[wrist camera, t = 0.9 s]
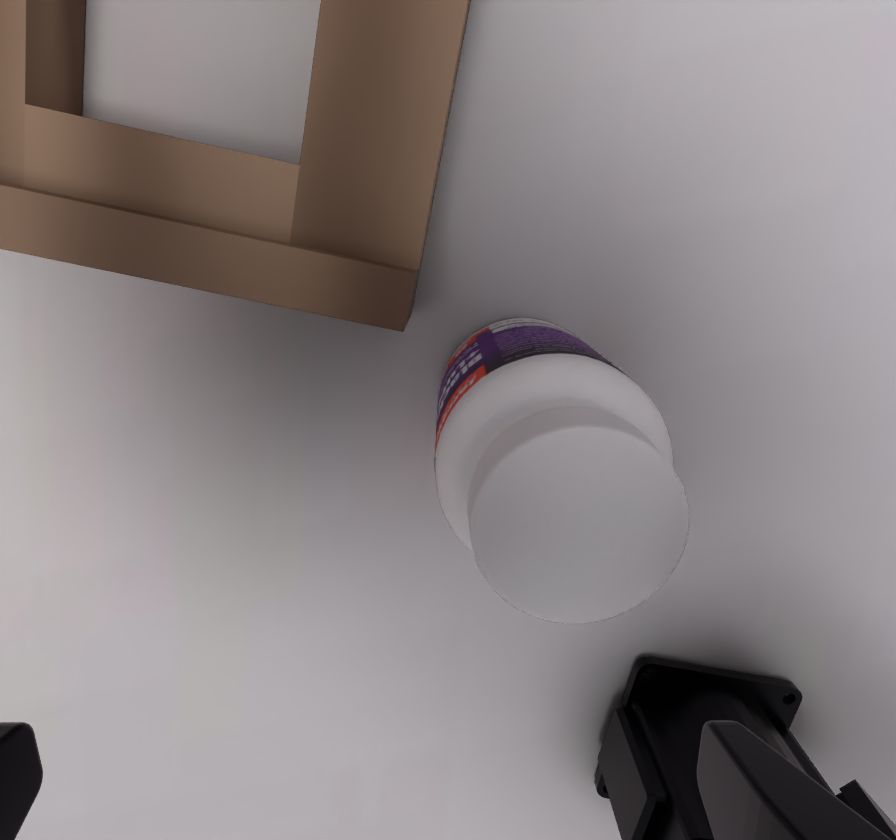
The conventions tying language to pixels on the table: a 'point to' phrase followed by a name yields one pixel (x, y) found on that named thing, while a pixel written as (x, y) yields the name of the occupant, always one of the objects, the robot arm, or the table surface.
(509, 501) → the pill bottle
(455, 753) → the table surface
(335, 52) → the socket
